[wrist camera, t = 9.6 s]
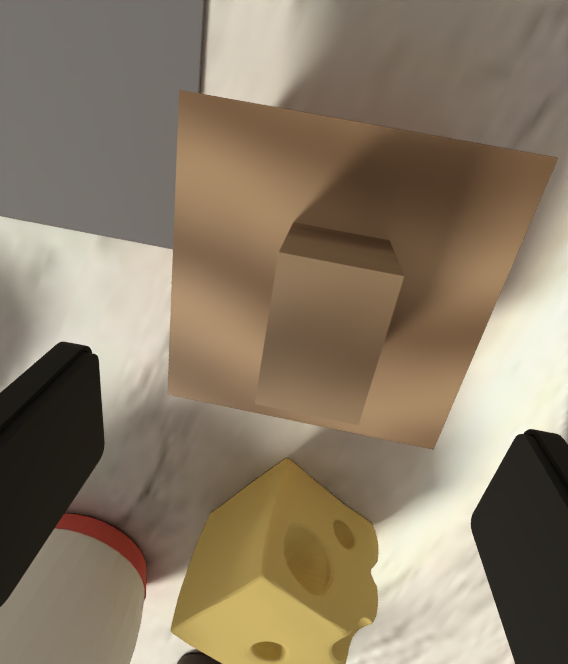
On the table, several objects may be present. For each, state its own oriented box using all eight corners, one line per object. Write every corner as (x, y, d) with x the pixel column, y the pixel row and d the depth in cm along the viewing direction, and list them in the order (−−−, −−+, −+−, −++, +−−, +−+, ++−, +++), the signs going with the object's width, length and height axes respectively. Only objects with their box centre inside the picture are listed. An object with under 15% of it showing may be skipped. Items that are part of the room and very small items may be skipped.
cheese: (377, 523, 35) (389, 662, 26) (288, 574, 39) (271, 708, 30) (285, 448, 32) (264, 572, 23) (201, 511, 37) (156, 636, 28)
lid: (189, 91, 17) (123, 78, 12) (544, 155, 16) (636, 170, 11) (175, 381, 23) (128, 454, 18) (428, 434, 23) (454, 524, 18)
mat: (-104, -118, 20) (-110, -122, 19) (208, -68, 19) (207, -70, 19) (-40, 206, 27) (-44, 207, 26) (191, 251, 26) (189, 252, 26)
